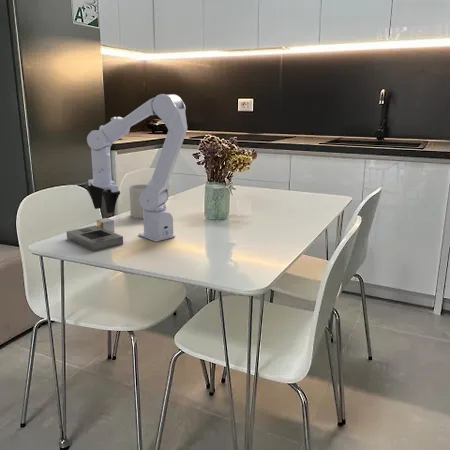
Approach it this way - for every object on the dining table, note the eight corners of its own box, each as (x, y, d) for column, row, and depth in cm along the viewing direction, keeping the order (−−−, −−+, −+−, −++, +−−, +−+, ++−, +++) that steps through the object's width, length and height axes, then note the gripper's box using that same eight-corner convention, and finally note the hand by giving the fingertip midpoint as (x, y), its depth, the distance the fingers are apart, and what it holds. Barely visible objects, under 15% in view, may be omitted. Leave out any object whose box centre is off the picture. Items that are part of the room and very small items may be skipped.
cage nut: (115, 231, 150) (114, 219, 149) (102, 234, 147) (102, 222, 146) (108, 229, 152) (108, 217, 151) (96, 231, 149) (95, 220, 148)
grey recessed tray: (123, 243, 137) (122, 236, 137) (93, 251, 130) (92, 243, 130) (96, 232, 148) (95, 225, 147) (67, 238, 141) (66, 231, 141)
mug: (125, 216, 168) (124, 187, 165) (141, 211, 175) (140, 183, 172) (151, 221, 162) (150, 191, 159) (165, 216, 169) (165, 187, 166)
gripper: (125, 170, 142) (127, 212, 146) (100, 164, 151) (103, 204, 155) (105, 172, 137) (108, 216, 141) (81, 167, 146) (84, 207, 150)
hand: (104, 210), depth 148 cm, fingers open, 7 cm apart
